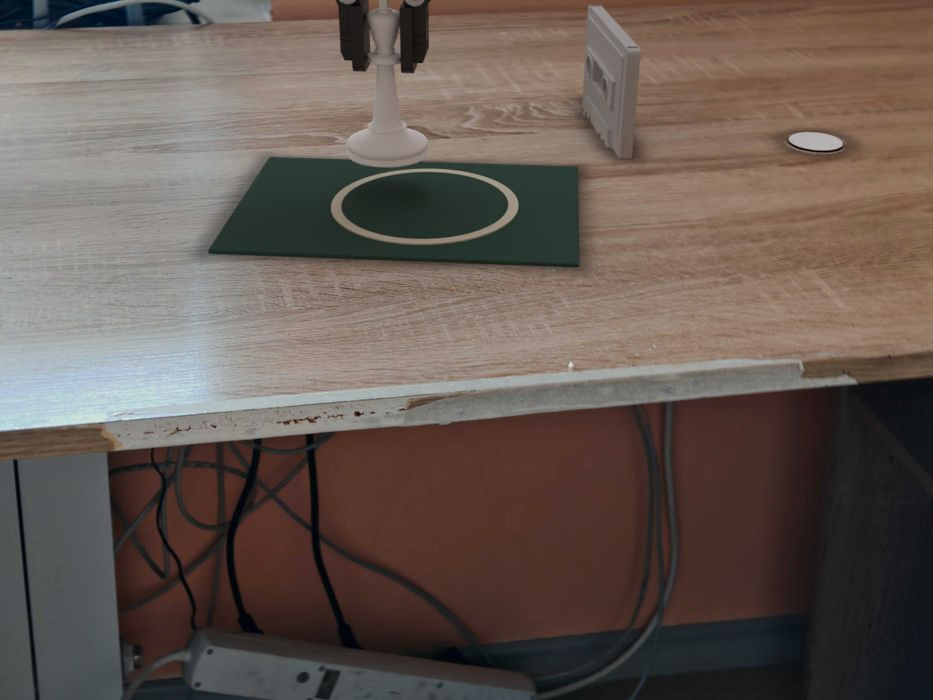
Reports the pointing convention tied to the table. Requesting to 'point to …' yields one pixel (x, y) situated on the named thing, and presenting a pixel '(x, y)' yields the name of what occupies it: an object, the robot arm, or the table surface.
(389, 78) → the chess piece
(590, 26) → the cassette
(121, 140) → the table surface
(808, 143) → the white rimmed disc
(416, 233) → the desk mat
